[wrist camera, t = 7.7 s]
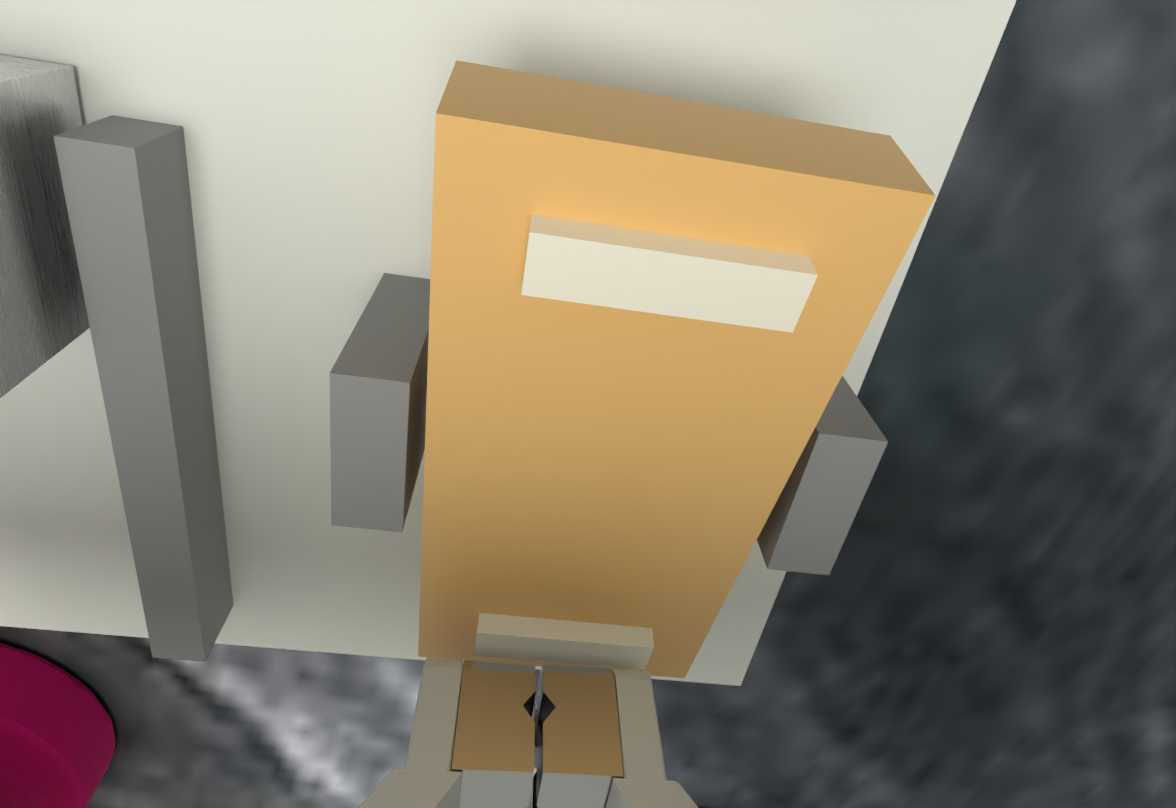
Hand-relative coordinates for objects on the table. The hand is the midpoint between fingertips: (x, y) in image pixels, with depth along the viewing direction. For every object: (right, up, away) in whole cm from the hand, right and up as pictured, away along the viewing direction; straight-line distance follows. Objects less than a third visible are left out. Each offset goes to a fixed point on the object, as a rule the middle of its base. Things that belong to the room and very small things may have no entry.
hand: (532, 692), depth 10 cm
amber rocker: (+1, +3, -2) cm, 4 cm away
